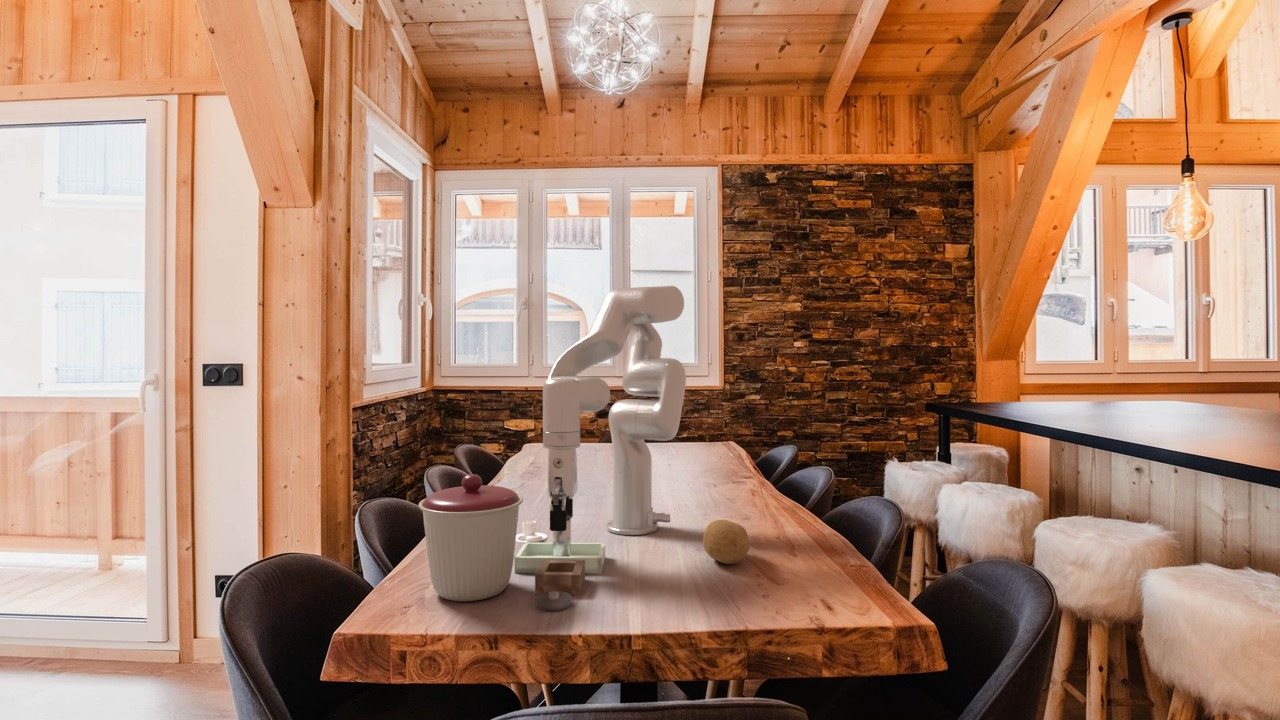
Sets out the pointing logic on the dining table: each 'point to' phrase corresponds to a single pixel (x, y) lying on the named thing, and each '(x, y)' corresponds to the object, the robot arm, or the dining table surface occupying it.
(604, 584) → the dining table surface
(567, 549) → the dark capped bottle
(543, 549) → the tray
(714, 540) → the potato
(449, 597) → the canister
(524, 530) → the teacup and saucer
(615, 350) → the robot arm
